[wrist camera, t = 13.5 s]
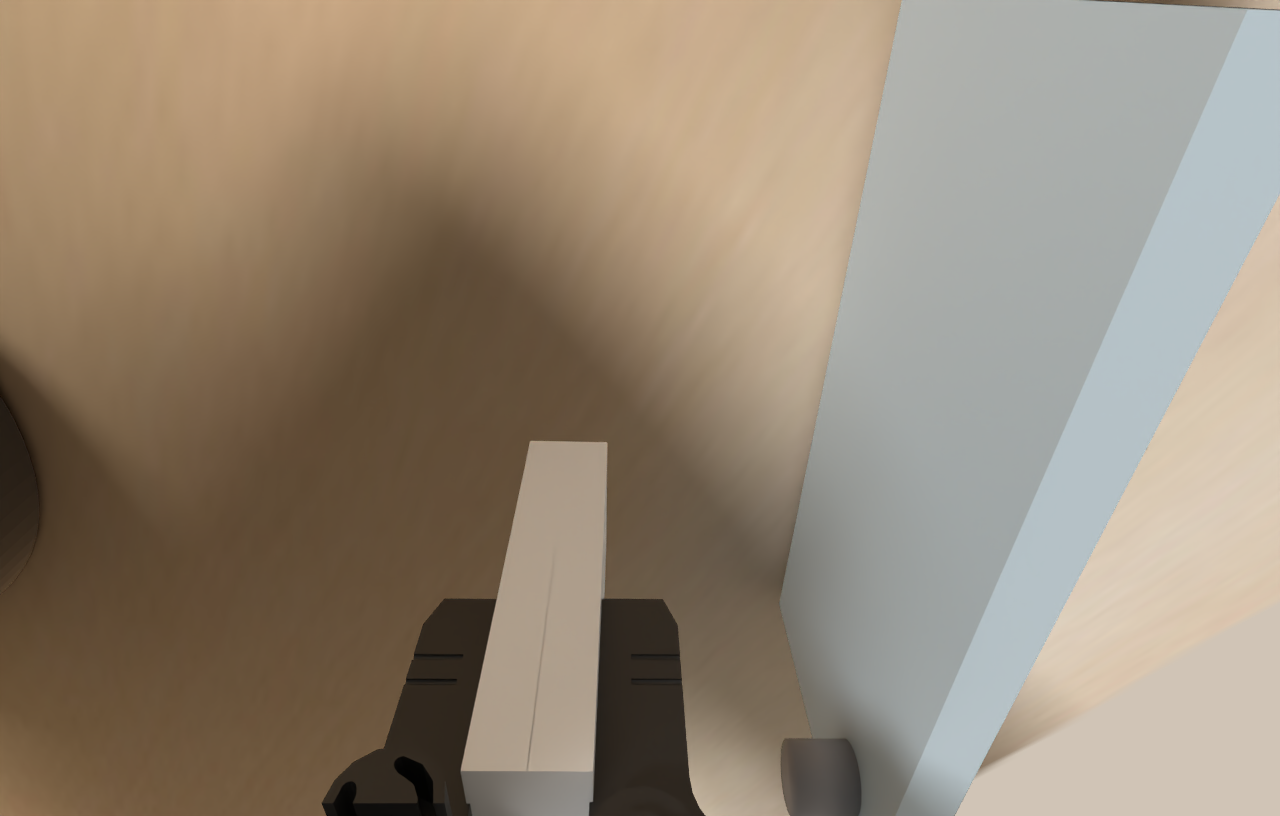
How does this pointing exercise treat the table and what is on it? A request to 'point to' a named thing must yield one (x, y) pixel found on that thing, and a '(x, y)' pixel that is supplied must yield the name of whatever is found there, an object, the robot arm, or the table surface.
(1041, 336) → the door
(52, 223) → the table surface
